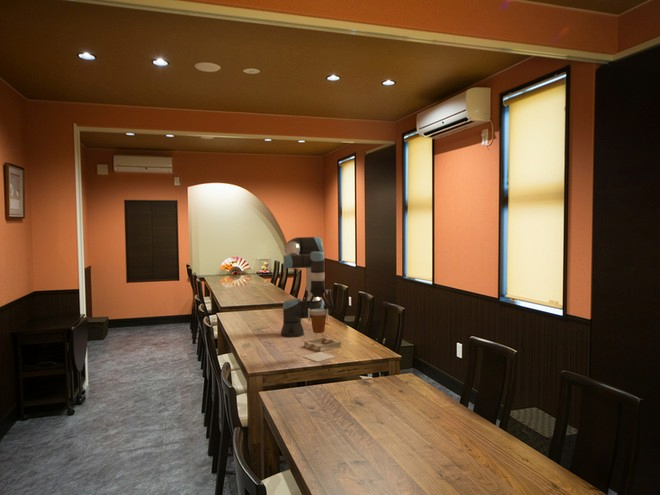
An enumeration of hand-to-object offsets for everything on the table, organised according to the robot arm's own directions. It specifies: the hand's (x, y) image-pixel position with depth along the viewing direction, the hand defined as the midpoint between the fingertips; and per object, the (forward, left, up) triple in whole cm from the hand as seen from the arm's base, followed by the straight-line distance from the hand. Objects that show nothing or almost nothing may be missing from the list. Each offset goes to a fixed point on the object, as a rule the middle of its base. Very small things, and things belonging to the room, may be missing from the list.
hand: (318, 320), depth 256 cm
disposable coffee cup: (0, 0, -6) cm, 6 cm away
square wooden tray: (-15, +15, -20) cm, 29 cm away
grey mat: (0, 0, -20) cm, 20 cm away
